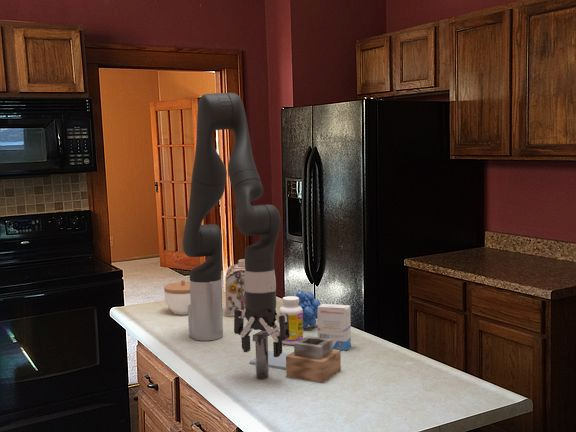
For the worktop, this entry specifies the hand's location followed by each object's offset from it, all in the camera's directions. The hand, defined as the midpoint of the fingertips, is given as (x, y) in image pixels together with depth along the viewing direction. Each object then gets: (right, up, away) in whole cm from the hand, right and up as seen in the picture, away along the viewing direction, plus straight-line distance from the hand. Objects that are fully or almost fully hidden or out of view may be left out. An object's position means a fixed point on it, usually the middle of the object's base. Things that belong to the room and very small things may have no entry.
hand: (261, 353), depth 160 cm
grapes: (+12, -1, +41) cm, 43 cm away
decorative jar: (-8, +1, +62) cm, 62 cm away
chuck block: (+13, -5, +3) cm, 14 cm away
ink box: (+19, -3, +23) cm, 30 cm away
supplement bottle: (+7, -3, +29) cm, 30 cm away
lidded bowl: (-29, +1, +64) cm, 70 cm away
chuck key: (0, -6, +1) cm, 6 cm away
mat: (+4, -4, +12) cm, 14 cm away
